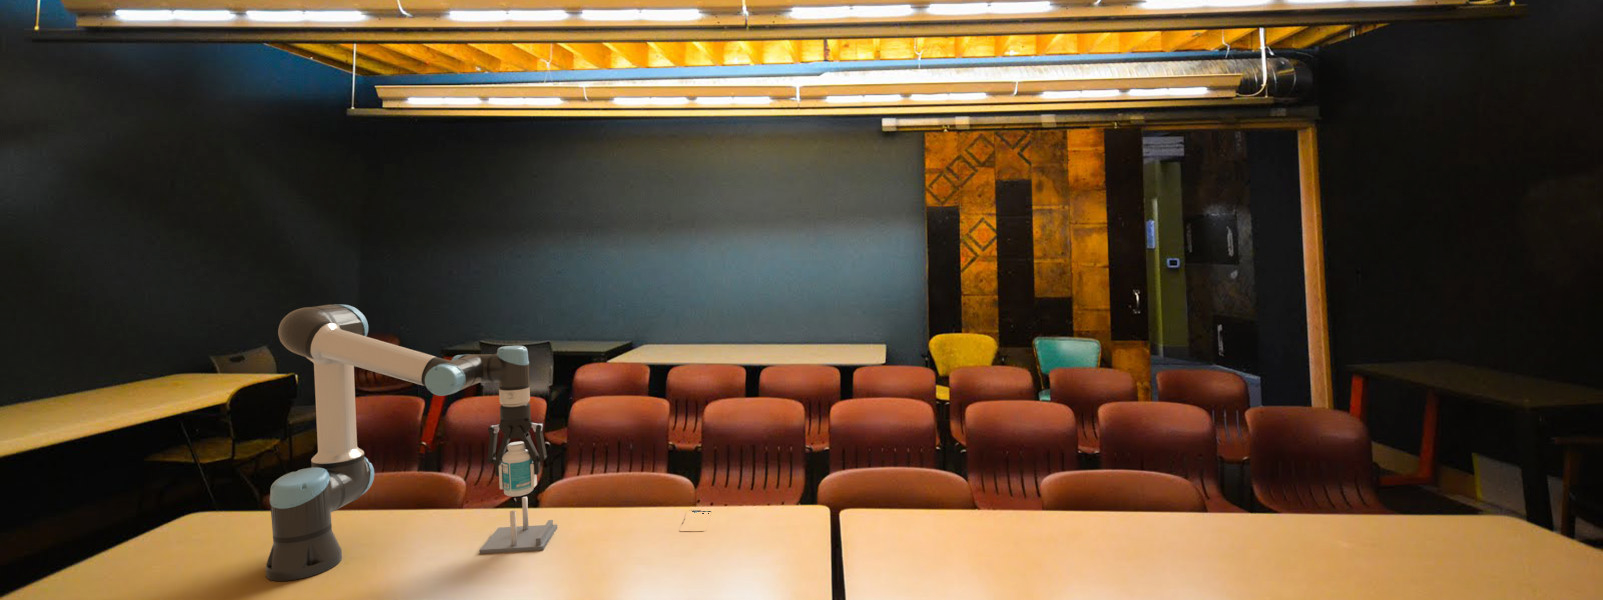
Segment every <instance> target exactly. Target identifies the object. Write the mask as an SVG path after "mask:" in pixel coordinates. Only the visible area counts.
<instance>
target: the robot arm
mask: <svg viewBox="0 0 1603 600" xmlns="http://www.w3.org/2000/svg"><path fill="white" fill-rule="evenodd" d="M277 333H278V334H277V335H278V338H279V341H280V343H281V344H282V345H283V346H284V347H285V349H287V350H288V351H290V352H292V353H293V354H296V355H299V356H302V357H305V358H306V359H307V360H309V361H310V362H312V363H313V371H314V374H313V375H314V394H315V411H316V412H315V414H316V416H315V417H316V432H317V433H316V435H317V436H316V437H317V453H316V454H315V455H313V456H312V458H311V460H310V462H311V467H307V468H302V469H298V470H297V471H291V472H287V473H285V474H283V475H282V476H280V477H279V478H277V479H276V480H275V481H274V482H273V483H272V484H271V486H270V491H269V492H270V495H269V504H270V514H271V515H270V516H271V517H270V518H271V527H272V529H271V530H272V546H271V549H270V552H269V556H268V559H267V561H266V565H265V577H266V578H267V579H268V580H270V581H274V582H275V581H276V582H287V581H296V580H300V579H305V578H309V577H313V576H317V575H319V574H322V573H324V572H326V571H329V570H330V569H333V568H334V567H335V566H337V565H338V564H339V563H341V561H342V559H343V551H342V548H341V546H340V544H339V542H338V540H337V537H336V535H335V534H334V532H333V527H332V513H334V512H335V511H336V510H339V509H340V508H342V507H344V506H346V505H348V504H349V503H353V502H354V501H357V500H358V499H359V498H360V497H362V495H364V494H366V493H367V492H368V490H369V489H370V488H371V486H372V485H373V483H374V479H375V468H374V466H373V463H371V462H370V461H369V459H368V458H367V457H366V456H365V451H364V450H363V449H362V448H359V447H358V438H357V437H358V436H357V435H358V432H357V414H356V413H357V412H356V411H357V410H356V408H357V407H356V387H355V385H356V384H355V368H361V369H363V370H368V371H371V372H374V373H377V374H381V375H383V376H384V375H385V376H387V377H392V378H395V379H399V380H402V381H405V382H410V383H414V384H416V385H419V386H420V385H421V386H424V387H426V389H427V391H429V392H430V393H431V394H433V395H435V396H438V397H440V396H441V397H445V396H448V395H453V394H455V393H458V392H459V391H462V390H464V389H466V388H469V387H471V386H474V385H476V384H479V383H480V384H481V383H498V393H499V394H498V396H499V397H498V398H499V404H501V405H500V406H499V417H500V418H499V420H500V421H499V424H492V425H490V426H489V427H488V434H489V441H488V448H487V449H488V451H487V458H486V459H487V460H486V462H487V463H488V464H492V465H494V470H495V477H498V478H499V479H498V480H499V482H498V483H499V490H504V485H503V465H502V457H503V455H504V454H505V453H506V452H507V450H508V449H507V445H508V444H509V443H510V441H511V440H513V439H521V442H524V444H525V446H526V448H525V449H526V450H528V452H529V454H530V457H531V459H532V463H531V464H530V470H531V488H533V489H534V488H535V487H536V486H537V485H538V479H537V478H538V477H537V476H538V475H539V474H540V472H541V462H543V461H545V460H546V458H547V457H548V454H547V448H546V444H545V438H544V434H543V433H544V432H543V430H544V423H543V422H539V423H535V422H533V420H532V418H531V417H532V416H531V415H532V414H531V413H532V411H531V403H530V401H531V393H530V391H531V389H530V388H531V387H530V361H529V360H530V359H529V351H528V348H527V347H526V346H524V345H507V346H506V345H505V346H501V347H498V348H497V352H496V353H494V354H474V353H473V354H471V353H465V354H457V355H455V356H453V357H452V359H451V360H449V359H446V358H441V357H437V356H434V355H432V354H428V353H425V352H422V351H419V350H414V349H410V348H407V347H404V346H401V345H400V346H399V345H397V344H394V343H390V342H386V341H382V340H379V339H376V338H372V337H369V336H368V333H369V324H368V320H367V318H366V316H365V315H364V314H363V312H361V311H360V310H359V309H358V308H356V307H354V306H353V305H352V306H351V305H349V304H336V303H334V304H323V305H318V306H311V307H310V306H307V307H301V308H298V309H295V310H292V311H291V312H289V313H288V314H287V315H285V316H284V317H283V318H282V320H281V321H280V323H279V326H278V331H277ZM531 428H532V429H533V432H534V433H535V435H534V437H535V440H536V445H537V449H536V447H535V445H534V442H533V440H532V437H531V434H530V432H529V431H530V430H531ZM499 431H501V432H502V433H503V434H504V435H503V438H502V440H501V444H500V447H499V448H498V452H497V443H498V433H499ZM537 450H538V451H537ZM496 452H497V454H496Z"/></svg>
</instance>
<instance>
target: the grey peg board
mask: <svg viewBox="0 0 1603 600" xmlns="http://www.w3.org/2000/svg"><path fill="white" fill-rule="evenodd" d="M528 504H529V503H528V496H523V497H522V496H521V506H522V507H521V509H522V511H521V513H522V526H517V513H516V512H517V511H516V510H510V512H509V522H510V523H509V524H510V526H501V527H498V528H496V530H495V531H494V532H493V533H492V535H491V536H490V537H489V538H488V539H487V541H486V542H485V543H484V544H483V545H482V546H481V548H480V549H479V554H497V553H498V554H499V553H514V552H515V553H516V552H532V551H544V550H545V548H546V547H547V545H548V543H549V542H550V540H551V539H552V538H553V535H555V534H554V532H556V531H557V529H558V524H554V520H553V519H549V520H547V522H546V523H545V524H544V525H543V524H542V525H529V508H528V507H529V506H528Z"/></svg>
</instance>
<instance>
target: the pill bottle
mask: <svg viewBox="0 0 1603 600" xmlns="http://www.w3.org/2000/svg"><path fill="white" fill-rule="evenodd" d="M506 450H507V451H506V452H505V454H504V455H503V457H502V462H501V463H502V465H503V485H504V488H503V493H504V495H505V496H507V497H513V498H515V497H522V496H525V495H528V494H530V493H531V492H533V491H534V488H531V470H530V464H531V463H532V462H533V461H532V459H531V457H530V454H529V452H528V450H527V448H526V446H525V444H524V442H523V441H513V442H509V444H508V445H507V449H506Z"/></svg>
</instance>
